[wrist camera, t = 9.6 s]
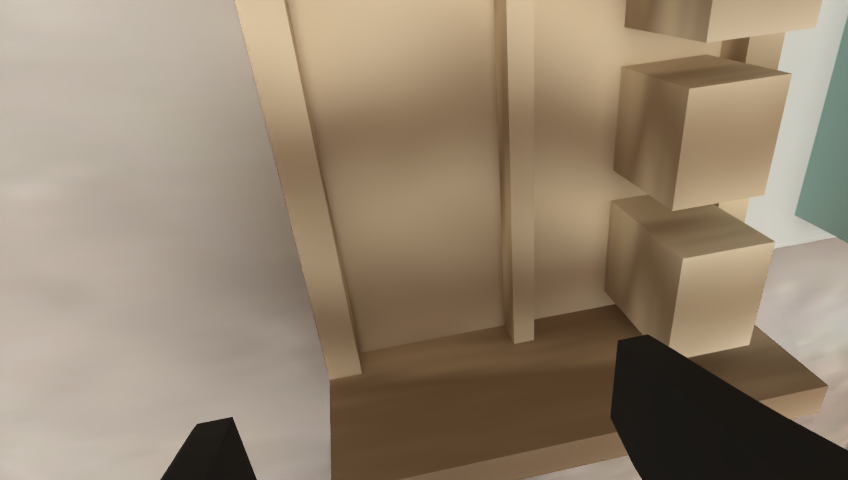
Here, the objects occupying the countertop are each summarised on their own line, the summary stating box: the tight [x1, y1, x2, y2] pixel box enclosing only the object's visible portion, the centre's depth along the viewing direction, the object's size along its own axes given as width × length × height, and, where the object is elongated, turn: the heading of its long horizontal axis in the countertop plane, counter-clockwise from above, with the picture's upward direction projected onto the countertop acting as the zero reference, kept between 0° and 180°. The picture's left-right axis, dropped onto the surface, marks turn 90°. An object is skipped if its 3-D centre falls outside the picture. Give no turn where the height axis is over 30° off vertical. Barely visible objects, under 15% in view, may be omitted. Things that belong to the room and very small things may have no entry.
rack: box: [235, 0, 828, 480], centre depth 15 cm, size 18×16×7 cm
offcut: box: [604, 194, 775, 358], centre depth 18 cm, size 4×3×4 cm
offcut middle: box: [613, 54, 792, 211], centre depth 16 cm, size 4×3×4 cm
